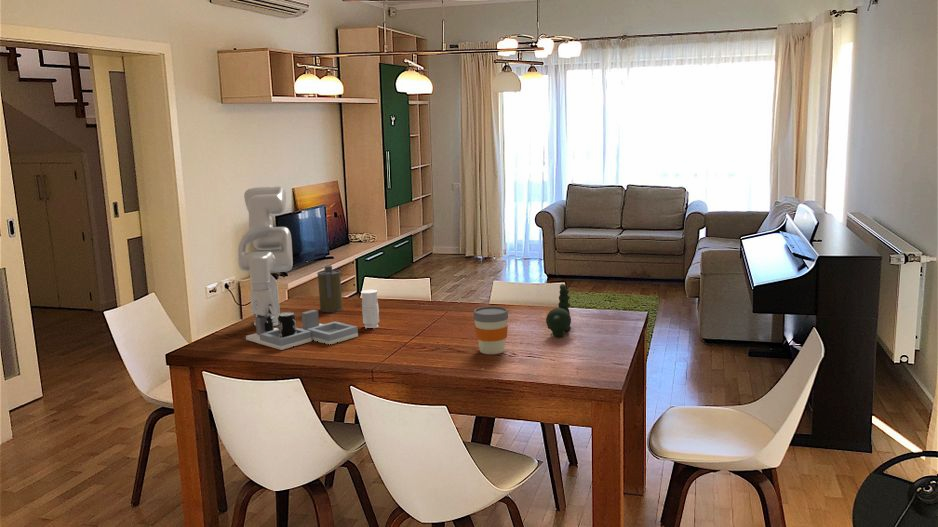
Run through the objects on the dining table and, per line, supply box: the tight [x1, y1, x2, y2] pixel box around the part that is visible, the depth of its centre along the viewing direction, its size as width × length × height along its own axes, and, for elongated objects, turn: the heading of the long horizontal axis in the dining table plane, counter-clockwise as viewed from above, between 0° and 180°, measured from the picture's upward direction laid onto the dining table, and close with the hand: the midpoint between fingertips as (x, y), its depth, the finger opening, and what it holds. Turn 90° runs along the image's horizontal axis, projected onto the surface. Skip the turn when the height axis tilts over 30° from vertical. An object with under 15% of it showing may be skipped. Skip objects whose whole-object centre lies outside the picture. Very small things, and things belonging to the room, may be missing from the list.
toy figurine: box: [545, 283, 572, 339], centre depth 296 cm, size 9×19×25 cm
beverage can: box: [277, 311, 297, 338], centre depth 296 cm, size 7×7×12 cm
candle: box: [360, 289, 380, 329], centre depth 316 cm, size 7×7×15 cm
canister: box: [316, 264, 344, 313], centre depth 347 cm, size 11×10×20 cm
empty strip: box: [301, 309, 359, 346], centre depth 305 cm, size 24×14×8 cm, turn 48°
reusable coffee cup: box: [473, 305, 509, 355], centre depth 278 cm, size 13×12×15 cm
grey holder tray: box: [245, 316, 313, 351], centre depth 301 cm, size 24×14×8 cm, turn 48°
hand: (265, 330), depth 307 cm, fingers open, 4 cm apart
